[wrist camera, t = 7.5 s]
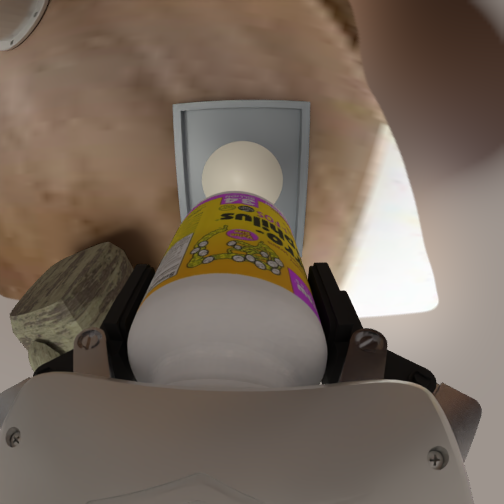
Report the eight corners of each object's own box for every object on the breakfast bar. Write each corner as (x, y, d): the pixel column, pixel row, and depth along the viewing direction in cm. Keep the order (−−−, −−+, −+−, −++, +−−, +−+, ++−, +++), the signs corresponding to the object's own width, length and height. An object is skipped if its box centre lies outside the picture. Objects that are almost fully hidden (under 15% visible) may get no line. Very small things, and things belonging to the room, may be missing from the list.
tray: (177, 104, 27) (172, 104, 25) (306, 102, 27) (310, 102, 25) (188, 249, 35) (185, 258, 33) (298, 248, 35) (301, 257, 34)
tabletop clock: (92, 297, 39) (21, 426, 17) (64, 250, 35) (-35, 370, 13) (166, 277, 37) (105, 447, 15) (137, 219, 33) (22, 376, 11)
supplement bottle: (313, 237, 17) (397, 444, 5) (240, 303, 19) (238, 496, 8) (229, 162, 14) (172, 359, 3) (159, 244, 17) (70, 441, 5)
